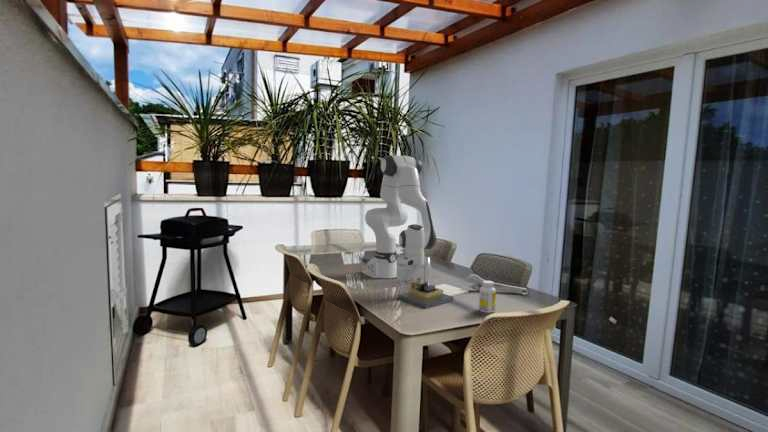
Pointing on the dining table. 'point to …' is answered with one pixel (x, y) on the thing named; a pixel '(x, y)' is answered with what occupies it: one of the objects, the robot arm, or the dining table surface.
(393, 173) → the robot arm
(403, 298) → the rod stand
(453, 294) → the pad
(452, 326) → the dining table surface
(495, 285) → the wrench
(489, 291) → the supplement bottle
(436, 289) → the collar
